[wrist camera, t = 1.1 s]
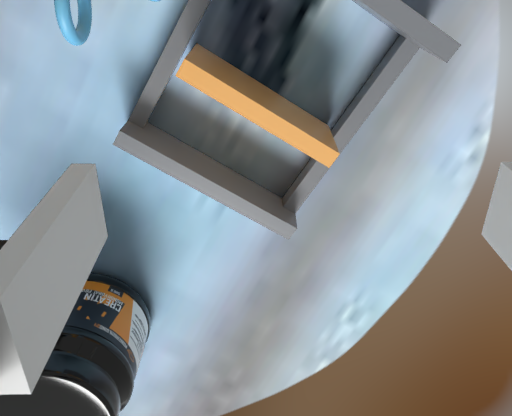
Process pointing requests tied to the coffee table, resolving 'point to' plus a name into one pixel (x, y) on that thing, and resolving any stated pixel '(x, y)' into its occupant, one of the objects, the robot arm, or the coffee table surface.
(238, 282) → the coffee table surface
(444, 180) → the coffee table surface
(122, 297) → the supplement container
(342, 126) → the frame
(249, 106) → the bar
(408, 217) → the coffee table surface
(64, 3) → the cylinder
